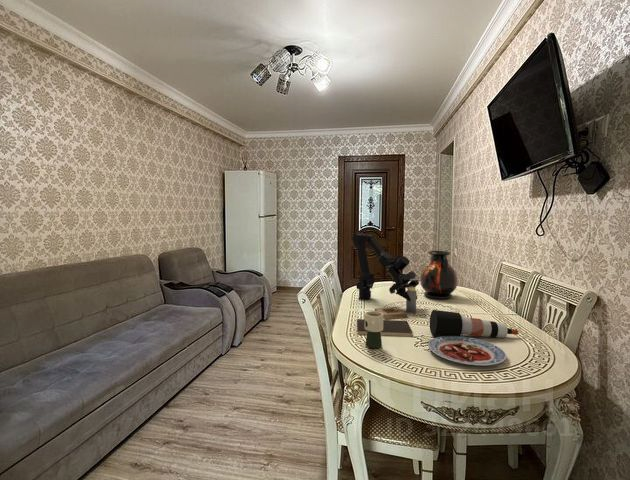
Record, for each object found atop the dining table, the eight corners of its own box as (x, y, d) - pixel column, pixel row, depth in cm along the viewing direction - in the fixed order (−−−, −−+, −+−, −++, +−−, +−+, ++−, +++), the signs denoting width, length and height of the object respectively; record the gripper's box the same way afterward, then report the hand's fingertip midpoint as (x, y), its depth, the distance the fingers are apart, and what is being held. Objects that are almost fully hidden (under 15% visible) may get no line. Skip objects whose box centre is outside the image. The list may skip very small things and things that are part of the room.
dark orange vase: (414, 293, 213) (414, 250, 211) (446, 292, 216) (447, 249, 214) (429, 302, 192) (430, 254, 190) (464, 301, 194) (465, 253, 192)
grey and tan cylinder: (406, 312, 172) (406, 288, 171) (406, 310, 177) (406, 285, 176) (416, 313, 171) (416, 288, 170) (416, 310, 176) (416, 286, 175)
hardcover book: (412, 337, 139) (412, 332, 139) (357, 335, 142) (357, 330, 142) (406, 325, 155) (406, 320, 155) (356, 323, 158) (357, 318, 157)
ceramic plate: (468, 377, 105) (468, 368, 105) (413, 347, 128) (413, 339, 128) (523, 362, 115) (523, 354, 115) (463, 337, 139) (463, 330, 138)
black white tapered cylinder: (517, 350, 136) (527, 332, 130) (432, 339, 138) (438, 322, 132) (507, 331, 144) (516, 314, 139) (428, 321, 146) (433, 304, 141)
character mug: (365, 340, 135) (365, 308, 134) (383, 341, 133) (383, 310, 132) (363, 351, 124) (363, 317, 123) (382, 352, 123) (383, 318, 122)
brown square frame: (374, 312, 173) (374, 308, 173) (395, 310, 176) (395, 306, 176) (384, 319, 162) (385, 315, 161) (407, 317, 165) (407, 313, 164)
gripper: (393, 268, 170) (411, 293, 162) (416, 264, 181) (434, 288, 173) (382, 281, 177) (398, 306, 169) (404, 277, 188) (421, 300, 180)
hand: (413, 299), depth 172 cm, fingers closed on grey and tan cylinder, 5 cm apart
